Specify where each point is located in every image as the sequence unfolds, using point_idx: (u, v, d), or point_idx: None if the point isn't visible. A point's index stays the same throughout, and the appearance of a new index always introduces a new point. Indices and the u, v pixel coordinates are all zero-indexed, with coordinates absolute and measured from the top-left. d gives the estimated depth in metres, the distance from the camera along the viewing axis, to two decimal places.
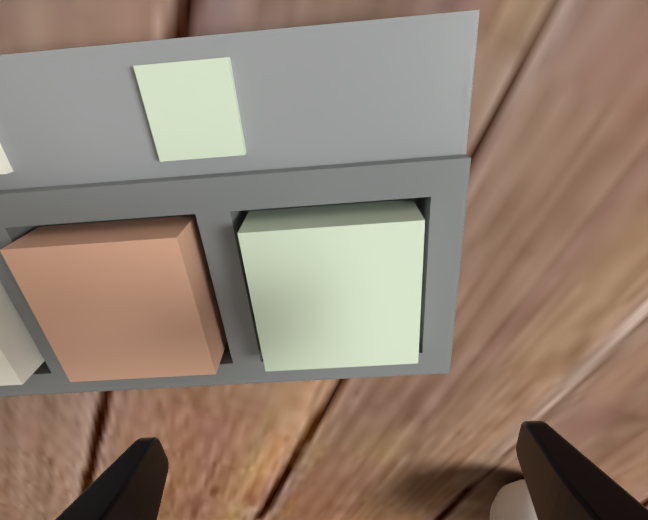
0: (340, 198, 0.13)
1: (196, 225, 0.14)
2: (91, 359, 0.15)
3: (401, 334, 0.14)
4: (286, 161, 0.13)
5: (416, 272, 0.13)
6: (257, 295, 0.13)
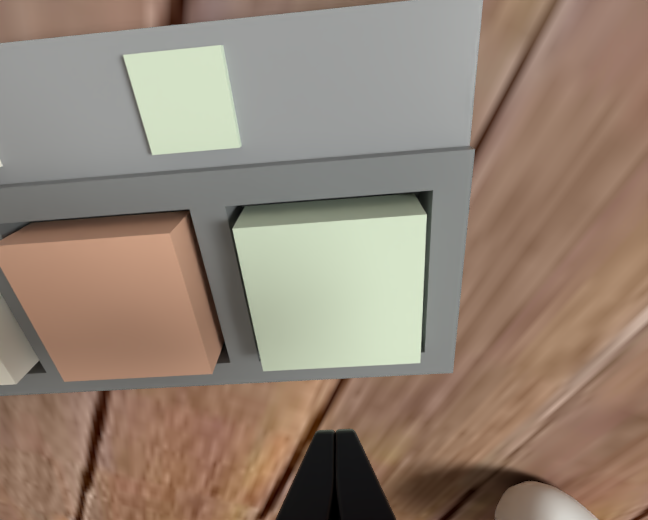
0: (339, 192, 0.12)
1: (191, 221, 0.14)
2: (85, 358, 0.15)
3: (403, 333, 0.14)
4: (283, 154, 0.12)
5: (417, 268, 0.12)
6: (253, 293, 0.13)
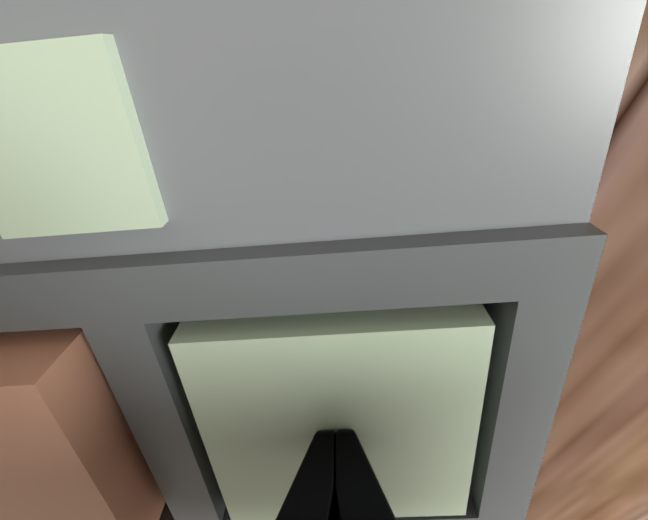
0: (347, 303, 0.07)
1: None
2: None
3: (442, 481, 0.09)
4: (245, 235, 0.07)
5: (472, 400, 0.08)
6: (210, 430, 0.08)
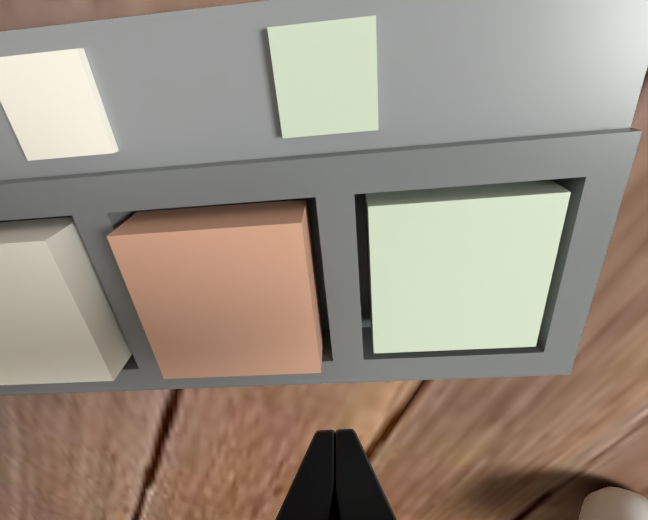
0: (481, 179, 0.11)
1: (307, 211, 0.13)
2: (189, 355, 0.14)
3: (523, 316, 0.14)
4: (421, 137, 0.11)
5: (551, 248, 0.12)
6: (378, 273, 0.13)
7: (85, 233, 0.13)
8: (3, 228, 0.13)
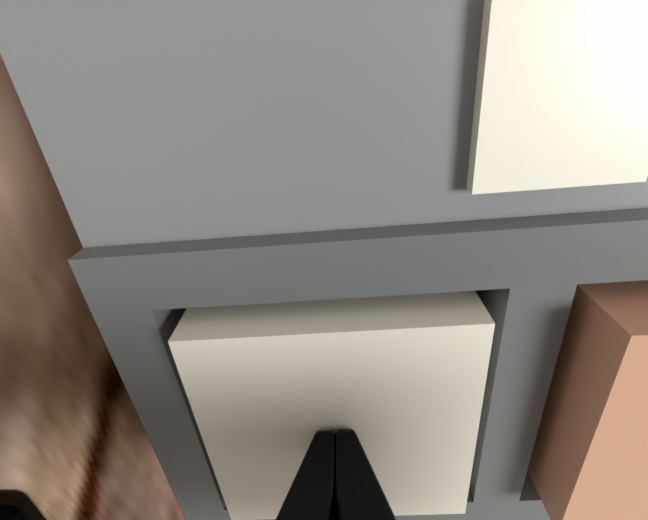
0: None
1: None
2: (628, 505, 0.08)
3: None
4: None
5: None
6: None
7: (516, 316, 0.07)
8: None
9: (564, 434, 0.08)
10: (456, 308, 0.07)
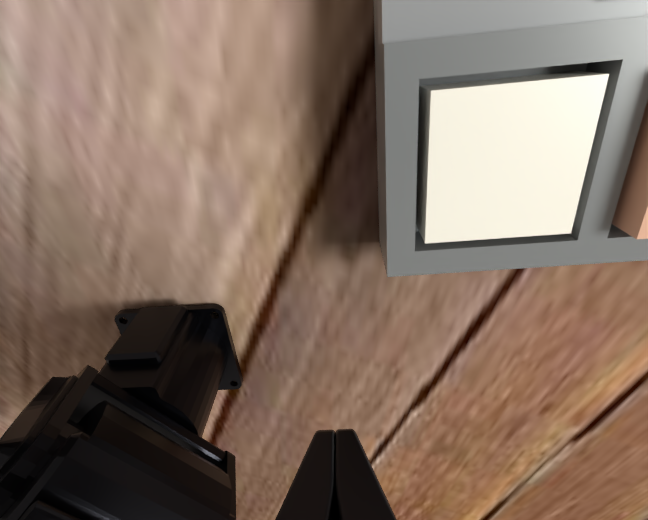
0: None
1: None
2: None
3: None
4: None
5: None
6: None
7: (624, 79, 0.13)
8: (516, 78, 0.14)
9: (644, 168, 0.14)
10: (584, 74, 0.14)
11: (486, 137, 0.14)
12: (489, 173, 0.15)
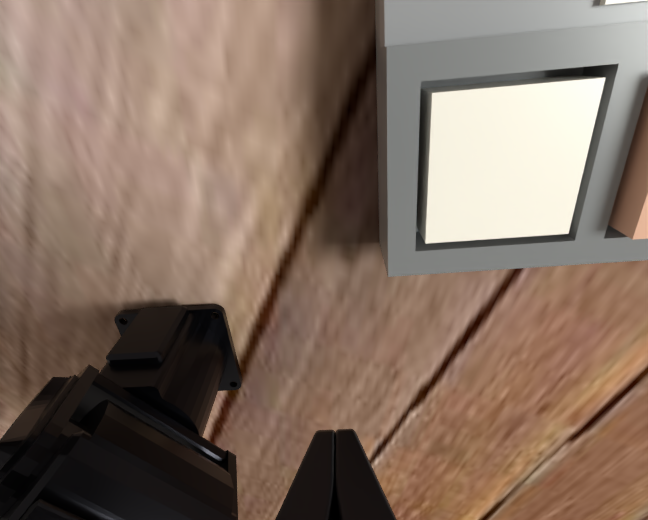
0: None
1: None
2: None
3: None
4: None
5: None
6: None
7: (620, 83, 0.14)
8: (514, 81, 0.15)
9: (639, 170, 0.15)
10: (581, 78, 0.14)
11: (486, 139, 0.14)
12: (489, 174, 0.15)
